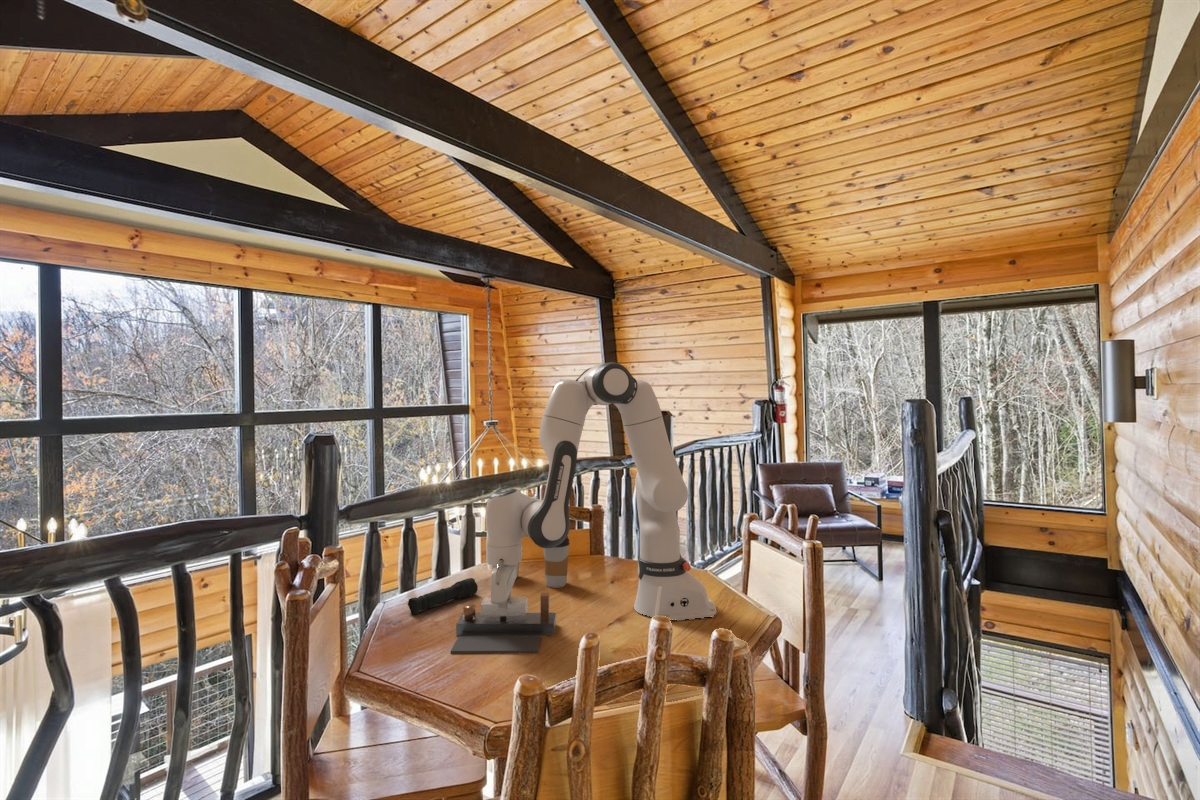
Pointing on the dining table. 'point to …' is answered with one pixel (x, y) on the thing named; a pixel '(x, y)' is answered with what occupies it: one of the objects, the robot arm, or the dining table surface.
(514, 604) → the whitish rectangular block
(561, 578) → the coffee cup
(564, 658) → the dining table surface
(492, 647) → the rubber mat
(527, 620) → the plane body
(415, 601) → the flashlight
